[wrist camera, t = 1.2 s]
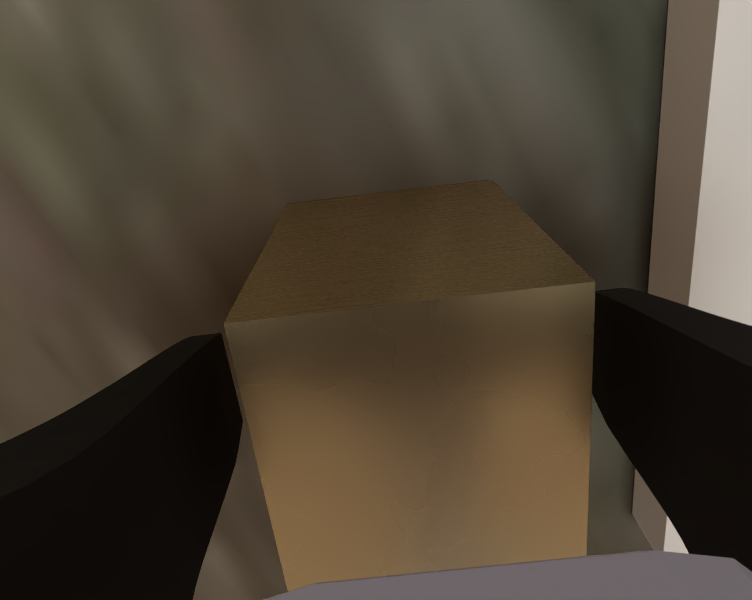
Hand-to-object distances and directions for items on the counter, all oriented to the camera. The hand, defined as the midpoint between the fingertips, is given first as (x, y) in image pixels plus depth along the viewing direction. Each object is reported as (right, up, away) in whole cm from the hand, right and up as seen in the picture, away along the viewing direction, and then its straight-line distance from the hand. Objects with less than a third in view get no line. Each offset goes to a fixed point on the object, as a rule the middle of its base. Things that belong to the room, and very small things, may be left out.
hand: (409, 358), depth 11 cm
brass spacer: (0, +1, +4) cm, 4 cm away
